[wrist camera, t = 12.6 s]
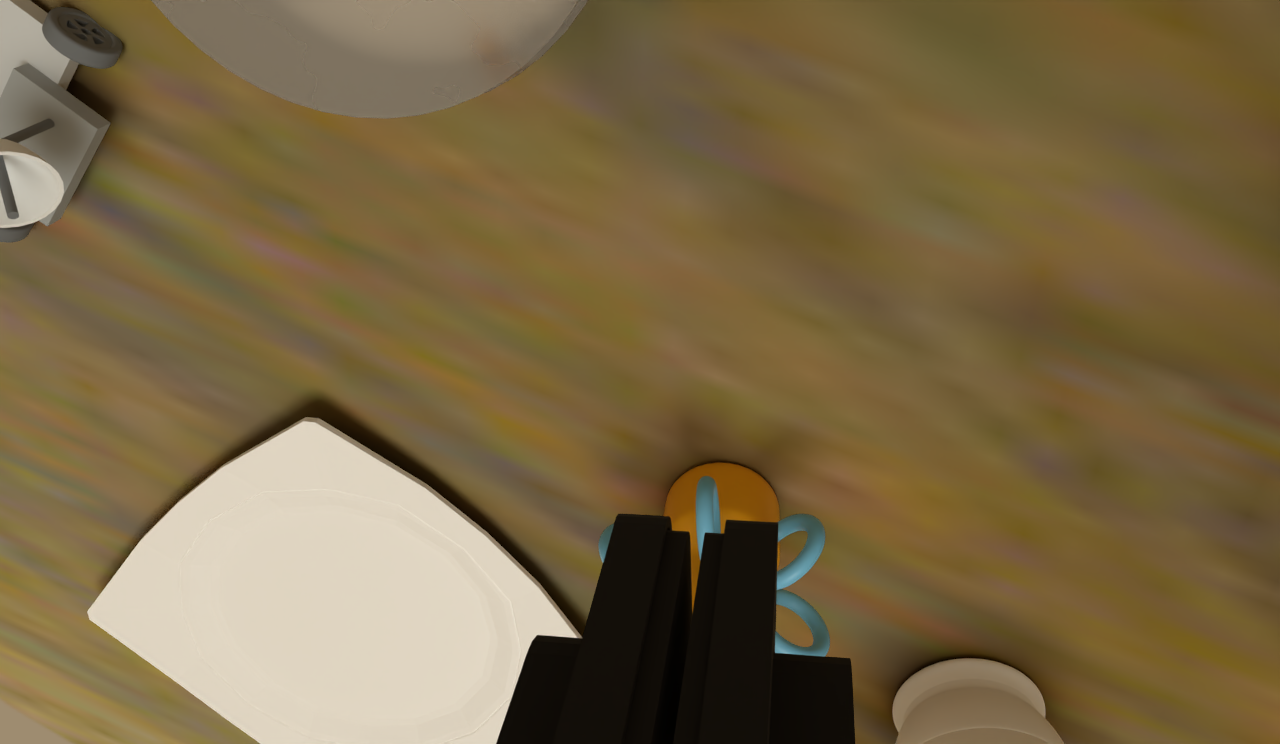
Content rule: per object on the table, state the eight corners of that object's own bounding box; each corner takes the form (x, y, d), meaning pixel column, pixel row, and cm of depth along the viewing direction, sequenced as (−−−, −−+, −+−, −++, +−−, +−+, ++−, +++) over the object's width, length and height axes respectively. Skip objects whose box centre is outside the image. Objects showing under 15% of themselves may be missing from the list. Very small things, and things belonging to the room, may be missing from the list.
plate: (643, 646, 59) (637, 680, 57) (381, 800, 69) (368, 835, 66) (325, 363, 52) (305, 389, 49) (84, 581, 62) (58, 612, 59)
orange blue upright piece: (607, 413, 51) (552, 622, 38) (816, 402, 49) (833, 616, 36) (639, 596, 57) (600, 832, 44) (825, 592, 55) (843, 835, 42)
